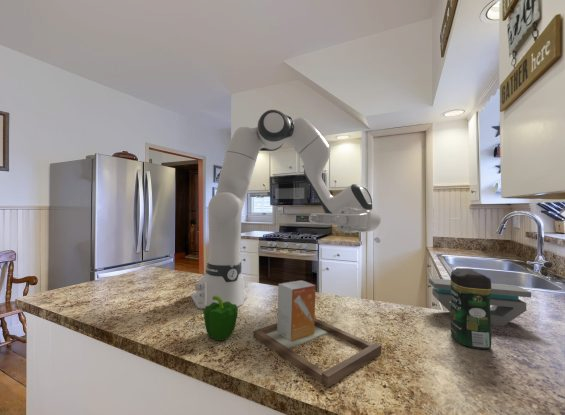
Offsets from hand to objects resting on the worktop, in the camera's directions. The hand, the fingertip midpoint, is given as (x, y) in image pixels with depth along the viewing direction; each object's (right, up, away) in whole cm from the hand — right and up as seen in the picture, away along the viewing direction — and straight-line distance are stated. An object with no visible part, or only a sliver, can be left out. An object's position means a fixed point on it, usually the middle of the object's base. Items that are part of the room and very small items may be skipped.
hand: (321, 219), depth 80 cm
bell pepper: (-28, -30, -13) cm, 43 cm away
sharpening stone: (+50, -32, +3) cm, 59 cm away
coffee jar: (+37, -32, -13) cm, 50 cm away
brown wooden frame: (-4, -30, -17) cm, 35 cm away
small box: (-9, -30, -12) cm, 33 cm away
